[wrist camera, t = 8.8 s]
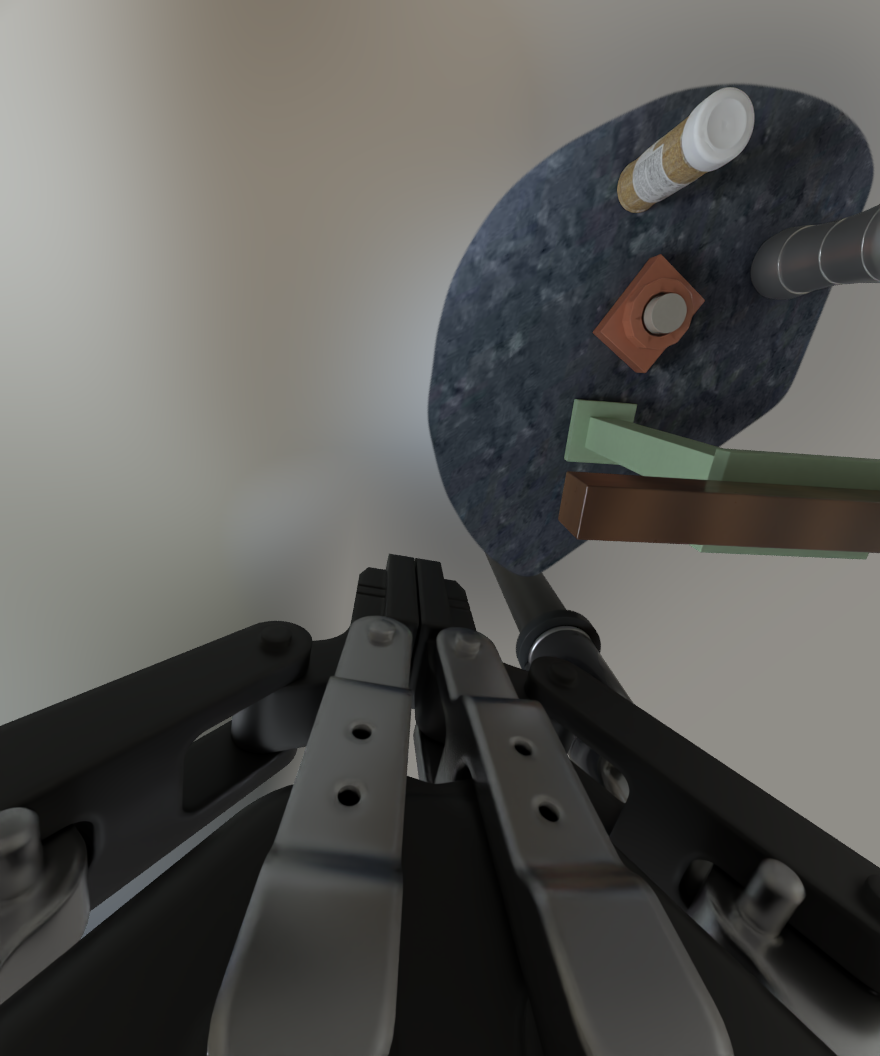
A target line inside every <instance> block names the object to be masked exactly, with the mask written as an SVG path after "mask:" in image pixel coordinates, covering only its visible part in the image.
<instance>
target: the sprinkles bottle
mask: <svg viewBox="0 0 880 1056" xmlns="http://www.w3.org/2000/svg"><path fill="white" fill-rule="evenodd" d="M753 126H754V109H753V106H752V103H751V100H750V99H749V97H748V96H747V95H746V94H745V93H744V92H743V91H741V90H740V89H737V88H733V87H731V88H730V87H728V88H723V89H720V90H718V91H716V92H714V93H713V94H711V95H710V96H709V97H708V98H706V99H705V100H704V101H703V102H701V103H700V104H699V105H698V106H697V107H696V108H695V109H694V110H693V111H692V113H691V114H690V115H689V117H687V118H686V119H685V120H684V121H683V122H681V123H680V124H679V125H678V126H676V127H675V128H674V129H673V130H671V131H670V132H669V133H668V134H666V135H665V136H664V137H662V138H661V139H659V140H658V141H657V142H656V143H655V144H653V145H652V146H651V147H650V148H648V149H647V150H646V151H645V152H644V153H643V154H642V155H641V156H640V157H639V158H638V159H637V160H635V161H633V162H631V163H630V164H629V165H627V166H626V168H625V169H624V170H623V172H622V174H621V176H620V178H619V182H618V187H617V193H618V198H619V201H620V203H621V205H622V206H623V208H625V209H626V210H627V211H630V212H632V213H640V212H643V211H645V210H647V209H649V208H650V207H651V206H652V205H653V204H655V203H656V202H659V201H661V200H663V199H665V198H667V197H668V196H670V195H672V194H673V193H675V192H677V191H678V190H680V189H682V188H683V187H685V186H687V185H688V184H690V183H692V182H693V181H695V180H696V179H698V178H699V177H700V176H702V175H703V174H705V173H707V172H709V171H713V170H716V169H718V168H720V167H722V166H723V165H725V164H726V163H728V162H730V161H731V160H733V159H734V158H735V157H736V156H738V155H739V154H740V153H741V152H742V150H743V149H744V148H745V146H746V145H747V143H748V141H749V139H750V137H751V134H752V131H753Z"/></svg>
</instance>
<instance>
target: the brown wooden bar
mask: <svg viewBox="0 0 880 1056" xmlns="http://www.w3.org/2000/svg"><path fill="white" fill-rule="evenodd" d="M558 520H559V521H560V522H561V523H562V524H563V525H564V526H565V527H566V528H567V529H568V530H569V531H570V532H571V533H572V534H573V535H574V536H575V537H576V538H577V539H581V540H603V541H626V542H648V543H670V544H692V545H714V546H736V547H758V548H780V549H802V550H824V551H846V552H868V553H880V490H864V489H847V488H831V487H815V486H799V485H782V484H766V483H750V482H733V481H717V480H701V479H684V478H668V477H652V476H635V475H619V474H603V473H587V472H570V471H568V472H567V473H566V478H565V484H564V489H563V495H562V501H561V506H560V512H559V518H558Z"/></svg>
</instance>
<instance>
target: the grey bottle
mask: <svg viewBox="0 0 880 1056" xmlns="http://www.w3.org/2000/svg"><path fill="white" fill-rule="evenodd" d="M751 280H752V283H753V285H754V287H755V289H756V290H757V291H758V292H759V294H761V295H762V296H764V297H766V298H769V299H779V300H786V299H791V298H794V297H798V296H801V295H803V294H806V293H808V292H811V291H814V290H818V289H822V288H826V287H830V286H834V285H842V284H852V283H880V204H879V205H877V206H875V207H873V208H871V209H869V210H866V211H864V212H861V213H858V214H856V215H853V216H850V217H847V218H845V219H842V220H839V221H834V222H829V223H824V224H819V225H806V226H799V227H792V228H788V229H785V230H783V231H781V232H779V233H778V234H776V235H774V236H772V237H771V238H769V239H768V240H767V241H766V242H764V243H763V244H762V246H761V247H760V248H759V250H758V252H757V253H756V255H755V257H754V259H753V262H752V266H751Z"/></svg>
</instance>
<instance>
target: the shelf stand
mask: <svg viewBox="0 0 880 1056" xmlns="http://www.w3.org/2000/svg"><path fill="white" fill-rule="evenodd" d="M636 407H637V404H631V403H619V402H606V401H593V400H580V399H575V400H574V405H573V411H572V417H571V423H570V428H569V434H568V440H567V446H566V451H565V457H564V459H565V460H566V461H571V462H587V463H603V464H618V465H622V466H624V467H626V468H628V469H630V470H632V471H634V472H636V473H638V474H640V475H642V476H652V477H668V478H684V479H701V480H717V481H733V482H750V483H766V484H782V485H799V486H815V487H831V488H847V489H864V490H880V459H865V458H852V457H838V456H837V457H836V456H822V455H808V454H794V453H780V452H765V451H751V450H736V449H723V448H719V447H716V446H712V445H709V444H705V443H702V442H698V441H695V440H691V439H688V438H684V437H681V436H677V435H674V434H670V433H666V432H663V431H659V430H656V429H652V428H649V427H645V426H642V425H638V424H635V423H633V421H634V416H635V412H636ZM689 545H690V546H692V547H693V548H695V549H696V550H698V551H699V552H708V553H730V554H754V555H776V556H777V555H778V556H799V557H822V558H845V559H846V558H847V559H866V558H867V556H868V554H869V553H868V552H846V551H824V550H802V549H780V548H758V547H736V546H714V545H692V544H689Z"/></svg>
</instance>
